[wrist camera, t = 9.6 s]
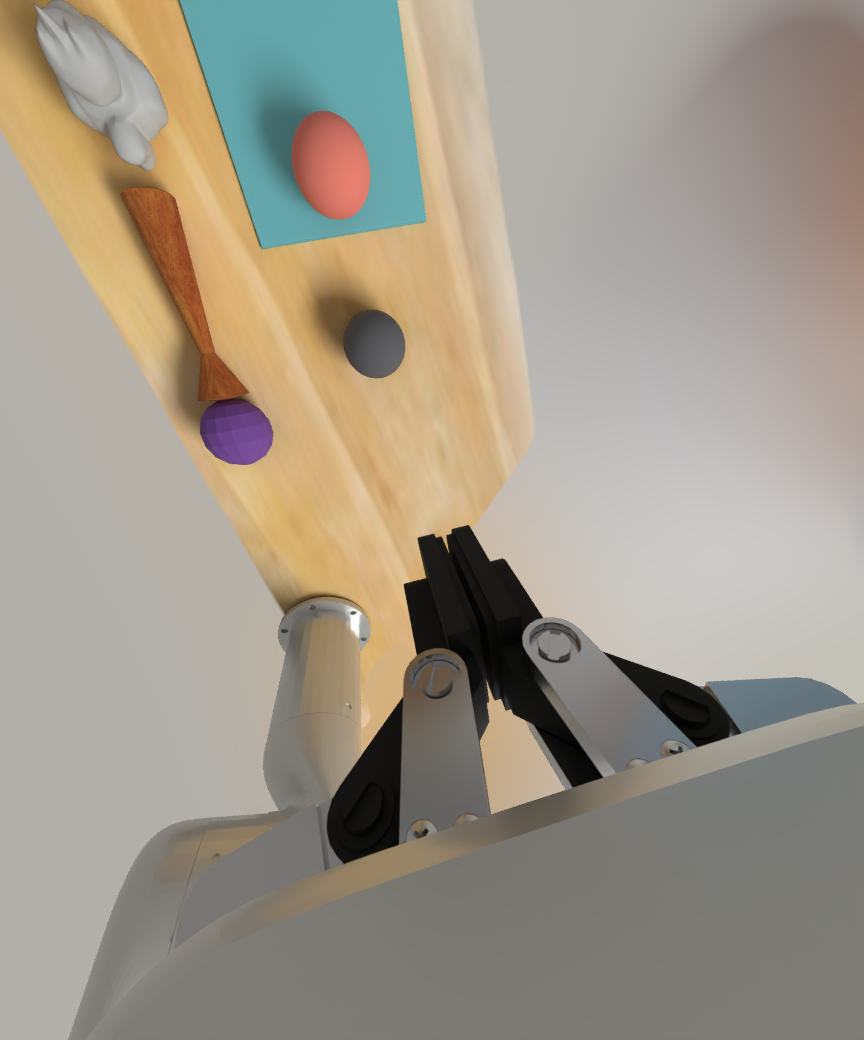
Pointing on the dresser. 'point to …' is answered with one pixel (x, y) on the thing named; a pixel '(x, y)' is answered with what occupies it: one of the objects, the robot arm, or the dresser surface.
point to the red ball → (330, 165)
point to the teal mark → (310, 104)
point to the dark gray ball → (374, 344)
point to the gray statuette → (102, 81)
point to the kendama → (199, 333)
